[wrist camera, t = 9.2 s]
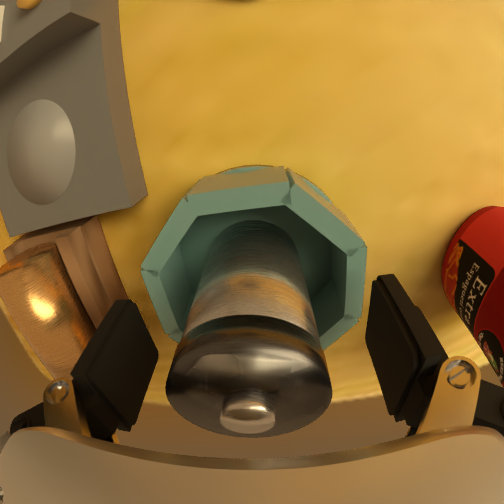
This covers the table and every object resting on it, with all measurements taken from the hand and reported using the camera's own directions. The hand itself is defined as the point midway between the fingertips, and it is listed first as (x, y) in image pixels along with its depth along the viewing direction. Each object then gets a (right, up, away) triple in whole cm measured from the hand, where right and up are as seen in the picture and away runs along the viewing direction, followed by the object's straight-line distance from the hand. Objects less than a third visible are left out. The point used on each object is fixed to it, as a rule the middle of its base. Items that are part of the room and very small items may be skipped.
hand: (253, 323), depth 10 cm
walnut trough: (-11, 0, +6) cm, 13 cm away
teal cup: (0, +2, +5) cm, 5 cm away
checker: (-11, +11, +1) cm, 16 cm away
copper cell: (-12, -1, +5) cm, 13 cm away
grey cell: (0, +2, +4) cm, 5 cm away
